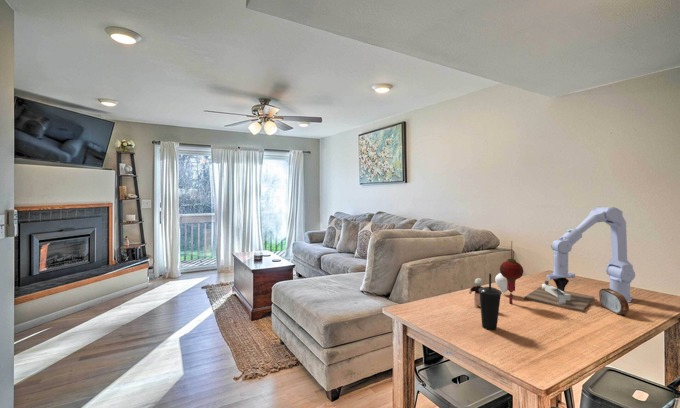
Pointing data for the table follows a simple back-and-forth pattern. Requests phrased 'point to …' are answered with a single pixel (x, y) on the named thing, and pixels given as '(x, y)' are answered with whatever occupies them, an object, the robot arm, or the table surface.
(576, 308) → the pivot board
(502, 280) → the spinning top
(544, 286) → the pivot bar
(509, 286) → the lantern
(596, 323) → the table surface
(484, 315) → the drinking cup
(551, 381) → the table surface
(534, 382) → the table surface
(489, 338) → the table surface
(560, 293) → the block
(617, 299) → the tin
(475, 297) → the grandmother figurine
